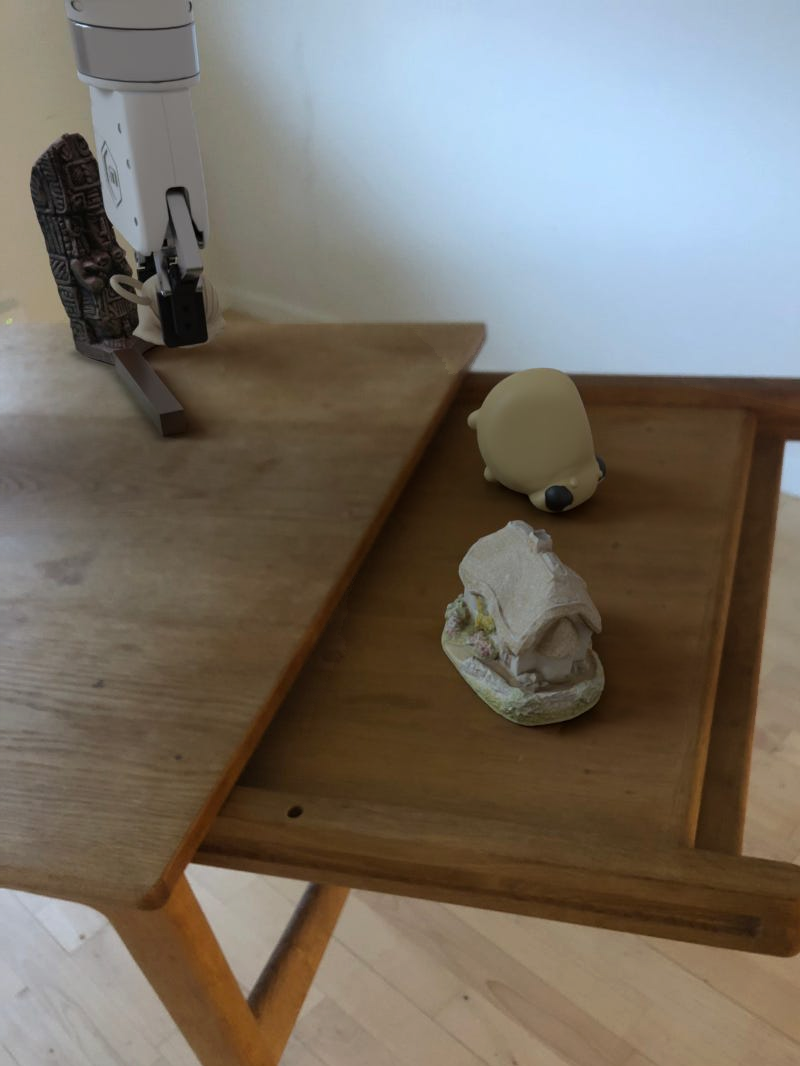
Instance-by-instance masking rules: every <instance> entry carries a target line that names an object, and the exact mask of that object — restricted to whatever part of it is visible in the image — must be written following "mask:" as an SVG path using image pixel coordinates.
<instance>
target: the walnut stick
mask: <svg viewBox="0 0 800 1066" xmlns="http://www.w3.org/2000/svg"><path fill="white" fill-rule="evenodd" d="M112 352H113V357H114V362H115V364H114V367H115V372H116V374H117V375H118V377H120V379H121V381H122V382H123V383H124V384H125V386H126V388H127V389H128V390H129V392H130V393H131V394H132V396H133V397H134V399H135V400H136V401H137V402H138V405H140V407H141V408H142V410H143V411H144V412H145V414H146V415H147V416H148V418H149V419H150V421H151V422H152V423H153V424H154V426H155V428H156V429H157V430H158V431H159V433H160V434H161V435H162V437H167V436H171V435H176V434H177V435H178V434H181V433H185V432H188V428H187V422H186V414H185V409H184V407H183V406H182V405H181V404H180V402H179V401H178V399H176V397H175V396H174V394H173V393H172V392H171V391H170V390H169V389H168V387H167V386H166V385H165V384H164V382H163V381H162V380H161V378H160V377H159V376H158V374H157V373H156V372H155V370H154V369H153V368H152V366H151V365H150V364H149V363H148V361H147V360H146V359H145V357H144V356H143V354H142V355H141V354H140V353H139V352H138V350H137V349H136V348H135V347H132V348H126V349H120V350H114V351H112Z"/></svg>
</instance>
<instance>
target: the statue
mask: <svg viewBox="0 0 800 1066" xmlns="http://www.w3.org/2000/svg"><path fill="white" fill-rule="evenodd" d="M29 180H30V181H29V191H30V197H31V199H32V204H33V210H34V211H35V215H36V219H37V222H38V225H39V227H40V231H41V234H42V235H43V239H44V244H45V249H46V253H47V254H48V258H49V267H50V270H51V273H52V276H53V279H54V282H55V284H56V288H57V293H58V296H59V300H60V302H61V304H62V306H63V308H64V311H65V313H66V316H67V317H68V318H69V327H70V329H71V333H72V335H71V336H72V340H73V342H74V347H75V350H76V351H77V352H79V353H80V354H82V355H84V356H86V357H88V358H90V359H94V360H98V361H102V362H105V363H108V364H111V365H115V362H114V357H113V352H112V351H114V350H120V349H126V348H132V347H135V348H136V349H137V350H138V352H139V353H140V354H141V355H142V356H143V354H144V353H145V352H147V351H148V350H150V349H151V348H153V347H155V346H157V344H154V343H152V342H147V341H145V340H143V339H142V338H140V337H137V336H135V335H133V332H134V331H135V329H136V328H137V327H138V325H139V317H138V310H137V303H134V302H132V301H130V300H128V299H126V298H124V297H123V296H121V295H120V294H118V293H117V292H116V291H115V290H114V289H113V287H112V286H111V283H110V279H111V277H112V276H114V275H125V276H129V277H132V278H133V273H134V272H133V268H132V267H131V265H130V263H129V262H128V260H127V258H126V256H127V250H125V248H123V247H121V246H120V244H119V242H118V241H117V236H116V232H115V228H113V227H114V225H113V224H112V223H111V222H110V220H109V219H108V217H107V214H106V211H105V208H104V202H103V195H102V188H101V181H100V173H99V166H98V159H97V157H95V156H94V154H93V152H92V150H91V149H90V146H89V144H88V142H87V140H86V139H85V137H84V136H83V135H81V134H80V133H79V132H74V133H68V132H65V133H63V134H62V135H61V136H60V137H58V138H57V139H56V140H55V141H53V142H52V143H50V145H49V146H48V147H46V148H45V150H43V152H42V153H41V154H40V155H39V157H38V158H37V159H36V160H35V161H34V163H33V165H32V167H31V169H30V179H29ZM118 284H119V285H120V286H121V287H122V288H123V289H125V290H126V291H128V292H130V293H132V294H134V295H138V294H137V291H136V288H134V287H132V286H130V285H128V284H125V283H121V282H118Z"/></svg>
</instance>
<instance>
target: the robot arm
mask: <svg viewBox="0 0 800 1066" xmlns="http://www.w3.org/2000/svg"><path fill="white" fill-rule="evenodd" d="M63 2H64V7H65V13H66V16H67V18H66V19H67V24H68V29H69V30H68V31H69V36H70V41H71V46H72V51H73V59H74V63H75V68H76V73H77V79H78V80H79V81H80V82H81V83H82V84H85V85H87V86H88V88H89V98H90V100H89V101H90V111H91V120H92V128H93V135H94V141H95V143H94V144H95V150H96V151H95V152H96V160H97V162H98V166H99V173H100V181H101V188H102V195H103V202H104V208H105V211H106V214H107V217H108V219H109V220H110V222H111V223H112V224H113V227H114V229H116V231H117V232H118V233H119V234H120V235H121V236H122V237H123V239H124V240H125V241H126V242H127V243H128V244H129V246H131V247H132V248H133V256H134V260H135V261H134V262H135V263H136V266H137V268H138V269H137V268H136V277H137V280H139V281H140V282H142V283H145V282H146V281H147V280H148V279H149V278H151V277H152V276H154V275H155V274H157V276H158V281H159V286H160V290H161V292H157V293H156V297H157V303H158V310H159V316H160V323H161V329H162V336H163V342H164V344H165V345H164V346H165V347H166V348H168V349H175V348H181V347H182V346H188V345H194V344H200V343H205V342H206V341H207V340H208V332H207V324H206V316H205V308H204V299H203V286H202V280H201V273H203V272H204V262H203V259H202V255H201V253H200V250H204V249H205V248H206V247H207V246H208V244H209V243H210V239H211V238H210V232H211V231H210V219H209V217H210V216H209V206H208V198H207V191H206V183H205V182H206V181H205V175H204V168H203V161H202V155H201V149H200V143H199V136H198V130H197V122H196V119H195V114H194V108H193V103H192V97H191V92H190V88H192V87H195V86H197V85H198V84H200V83H201V74H200V73H201V72H200V64H199V63H200V62H199V52H198V45H197V34H196V26H195V21H194V20H195V17H194V16H195V15H194V7H193V0H63ZM168 270H169V273H168Z"/></svg>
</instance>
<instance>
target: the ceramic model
mask: <svg viewBox="0 0 800 1066" xmlns="http://www.w3.org/2000/svg"><path fill="white" fill-rule="evenodd" d="M458 575H459V578H460V580H461V582H462V585H463V586H464V593H460V594H458V596H457V598H455V599H454V601H453V602H451V603H448V605H447V606H446V610H445V613H444V619H445V624H444V628H443V630H442V634H441V646H442V650H443V651H444V653H445V655H446V656H447V657H448V659H449V660H450V661H451V663H452V664H453V666H454V667H455V668H456V670H457V671H458V673H459V674H460V675H461V677H462V678H463V679H464V681H465V682H466V683H467V685H469V686H470V688H471V689H472V690H473V691H474V692H475V693H476V694H477V696H478V697H479V698H480V699H481V700H482V701H483V702H485V703H486V704H487V705H488V706H489V708H491V709H492V710H493V711H494V712H495V713H496V714H498V715H499V716H502V717H503V718H504V719H506V720H509V721H510V722H512V723H515V724H518V725H523V726H529V727H534V726H543V725H548V724H555V723H560V722H564V721H569V720H572V719H574V718H576V717H579V716H580V715H581V714H584V713H586V712H588V711H589V710H590V709H592V708H594V706H595V705H596V704H597V703H598V701H599V700H600V698H601V696H602V693H603V691H604V686H605V681H606V679H605V674H604V667H603V665H602V662H601V660H600V658H599V655H598V653H597V652H596V651H595V650H593V640H592V636H593V633H596V634H600V633H601V632H602V629H603V627H602V617H601V615H600V612H599V611H598V609H597V607H596V606H595V604H594V601H592V598H591V596H590V595H589V592H588V586H587V582H586V581H585V580H584V579H583V578H582V577H581V576H580V575H579V574H578V573H577V572H576V571H575V570H573V569H572V568H570V567H569V566H567V565H565V564H564V563H563V562H562V561H561V558H559V557H558V555H557V554H556V553H555V552H554V551H553V540H552V538H551V535H550V534H548V533H547V532H546V530H545V528H542V529H541V528H540V529H534V528H533V527H532V526H531V525H530V524H529V523H527V522H525V521H523V520H522V519H519V520H518V519H517V520H510V521H508V523H507V524H506V525H505V526H504V527H502V528H501V529H499V530H497V531H495V532H493V533H490V534H488V535H485V536H483V537H480V538H479V539H478V540H477V541H476V542H474V544H472V545H471V547H470V548H468V550H467V553H466V554H465V556H464V557H463V558H462V561H461V562H460V563H459V567H458Z"/></svg>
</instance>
